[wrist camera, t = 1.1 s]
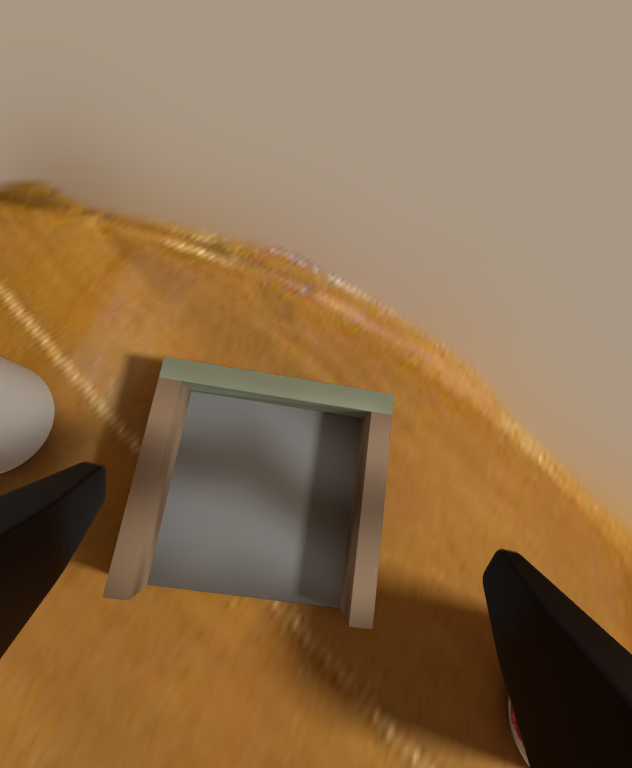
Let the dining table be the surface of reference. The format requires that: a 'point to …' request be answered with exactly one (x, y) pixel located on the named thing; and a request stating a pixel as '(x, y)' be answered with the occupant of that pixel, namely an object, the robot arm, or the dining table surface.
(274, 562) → the tray
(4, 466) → the beverage can
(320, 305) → the dining table surface
